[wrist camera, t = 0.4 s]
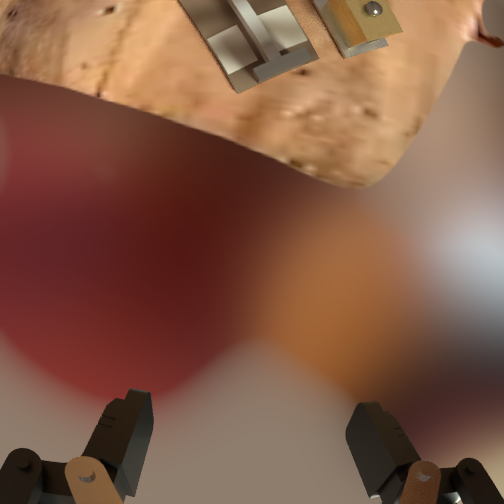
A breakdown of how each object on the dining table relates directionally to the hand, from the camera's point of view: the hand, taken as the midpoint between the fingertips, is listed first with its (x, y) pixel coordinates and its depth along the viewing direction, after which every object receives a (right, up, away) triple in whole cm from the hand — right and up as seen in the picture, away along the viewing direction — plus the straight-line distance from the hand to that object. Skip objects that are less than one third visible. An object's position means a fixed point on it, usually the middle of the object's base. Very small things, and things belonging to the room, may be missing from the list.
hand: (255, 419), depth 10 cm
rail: (-2, +33, +14) cm, 36 cm away
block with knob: (+11, +32, +13) cm, 36 cm away
